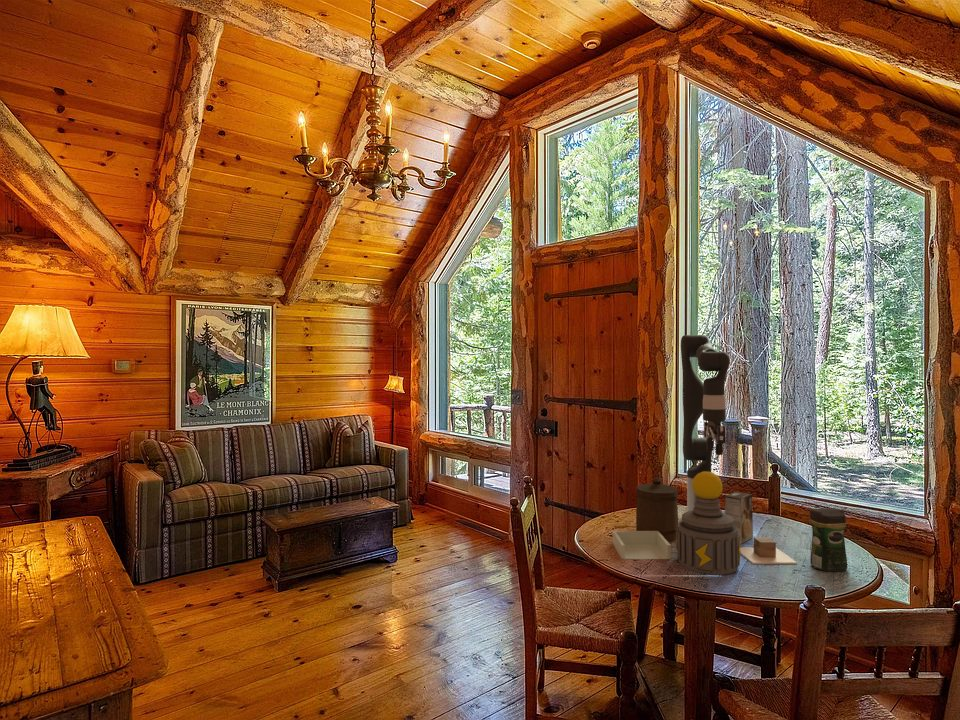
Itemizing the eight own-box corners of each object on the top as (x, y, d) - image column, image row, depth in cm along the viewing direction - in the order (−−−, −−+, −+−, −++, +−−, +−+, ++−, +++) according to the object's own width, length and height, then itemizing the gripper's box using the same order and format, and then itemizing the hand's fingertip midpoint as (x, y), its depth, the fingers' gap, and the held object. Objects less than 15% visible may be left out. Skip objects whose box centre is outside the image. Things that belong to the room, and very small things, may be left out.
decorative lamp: (737, 581, 168) (736, 480, 167) (671, 570, 177) (670, 474, 177) (742, 560, 184) (741, 468, 184) (682, 551, 193) (681, 464, 193)
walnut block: (753, 552, 190) (753, 537, 190) (768, 552, 190) (768, 537, 190) (760, 557, 185) (760, 542, 185) (775, 557, 185) (775, 542, 185)
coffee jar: (834, 562, 181) (834, 505, 181) (852, 572, 173) (851, 511, 173) (805, 563, 181) (804, 505, 181) (821, 573, 173) (821, 512, 173)
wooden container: (672, 531, 215) (672, 473, 215) (682, 544, 201) (682, 482, 201) (633, 530, 217) (632, 473, 217) (640, 543, 202) (639, 482, 202)
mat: (734, 548, 195) (734, 547, 195) (776, 549, 194) (776, 547, 194) (752, 563, 181) (752, 562, 181) (797, 564, 180) (797, 562, 180)
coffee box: (735, 533, 211) (735, 491, 211) (753, 537, 206) (753, 494, 206) (724, 539, 205) (724, 495, 205) (742, 543, 200) (741, 498, 200)
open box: (612, 544, 201) (612, 530, 201) (658, 544, 200) (658, 530, 200) (621, 560, 186) (621, 545, 186) (670, 560, 185) (670, 545, 185)
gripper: (732, 409, 194) (733, 456, 195) (717, 405, 209) (717, 449, 209) (710, 409, 195) (711, 456, 195) (696, 405, 209) (697, 449, 209)
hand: (714, 452), depth 202 cm, fingers open, 8 cm apart
